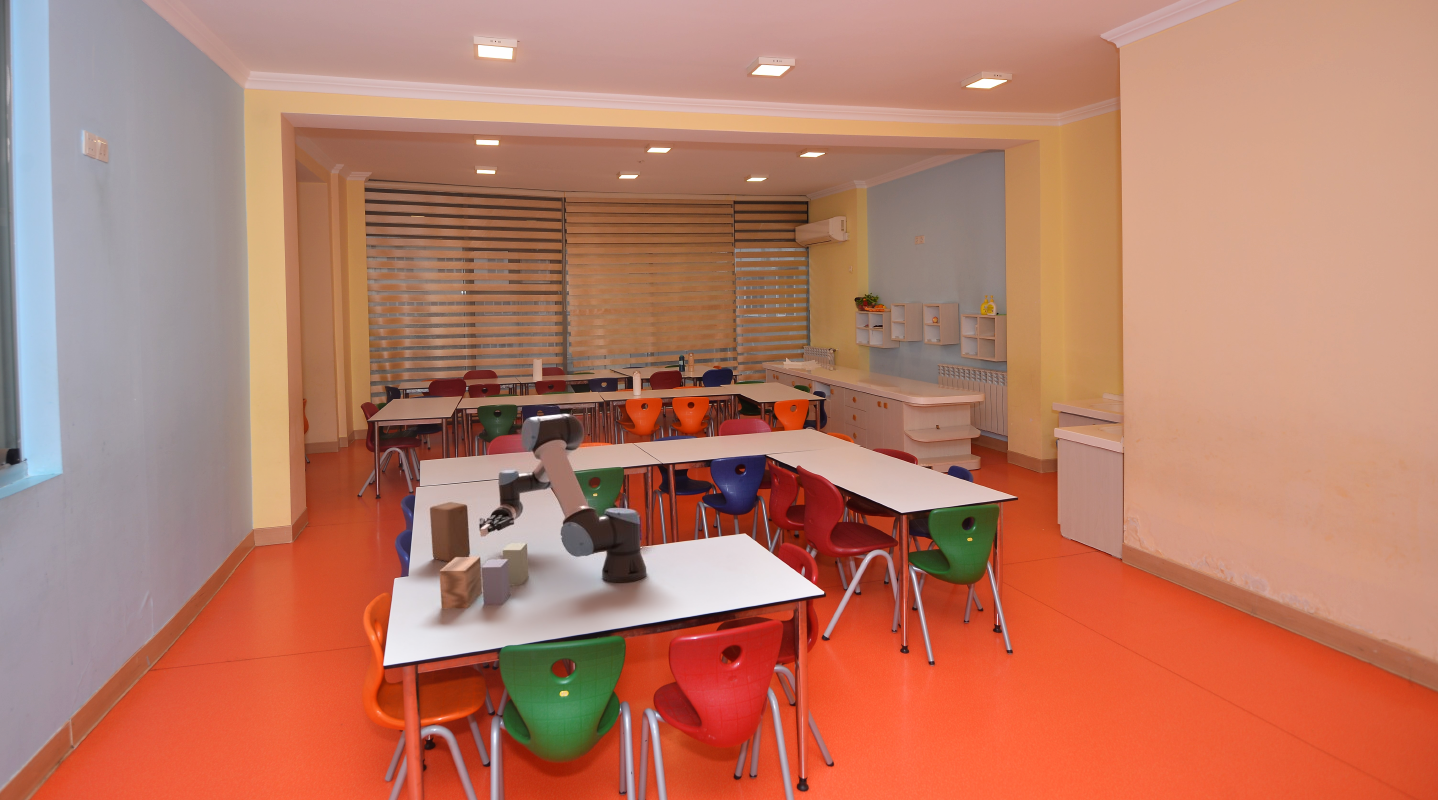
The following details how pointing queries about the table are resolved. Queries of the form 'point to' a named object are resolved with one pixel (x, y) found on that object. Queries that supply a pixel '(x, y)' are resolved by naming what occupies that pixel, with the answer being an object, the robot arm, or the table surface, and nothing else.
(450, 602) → the oak block
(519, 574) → the beige block
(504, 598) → the lavender block
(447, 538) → the wooden block
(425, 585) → the table surface
